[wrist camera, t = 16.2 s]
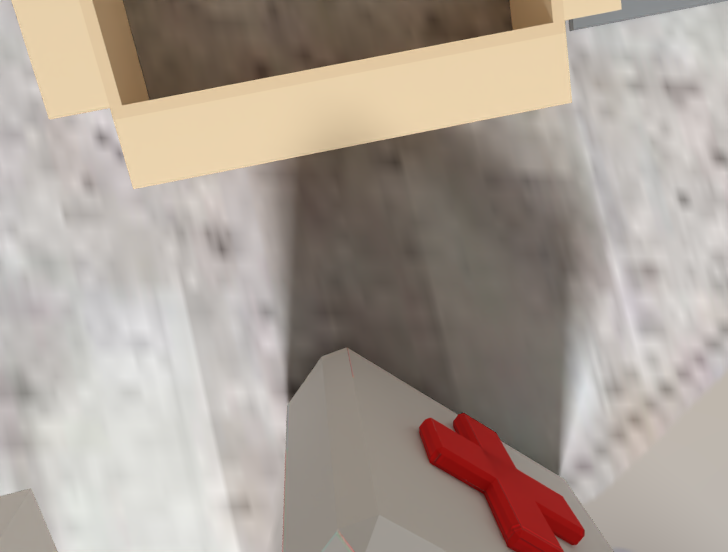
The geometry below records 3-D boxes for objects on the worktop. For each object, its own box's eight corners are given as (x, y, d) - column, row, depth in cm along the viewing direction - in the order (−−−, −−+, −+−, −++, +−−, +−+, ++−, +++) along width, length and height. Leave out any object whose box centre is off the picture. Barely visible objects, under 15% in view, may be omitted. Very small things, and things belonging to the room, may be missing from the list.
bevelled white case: (577, 464, 48) (762, 711, 29) (511, 545, 50) (646, 830, 31) (342, 319, 43) (377, 500, 24) (276, 412, 45) (260, 654, 26)
